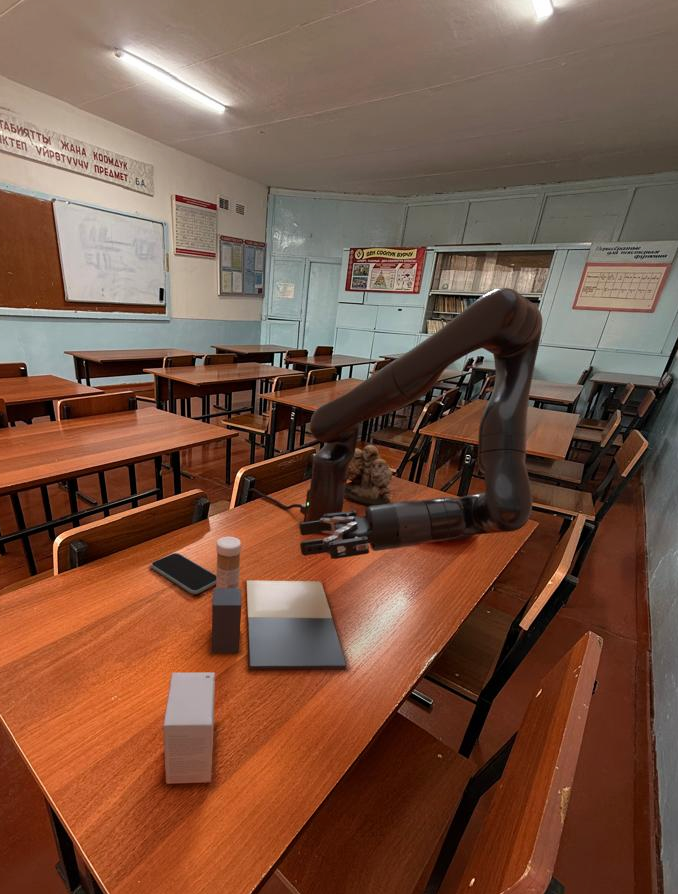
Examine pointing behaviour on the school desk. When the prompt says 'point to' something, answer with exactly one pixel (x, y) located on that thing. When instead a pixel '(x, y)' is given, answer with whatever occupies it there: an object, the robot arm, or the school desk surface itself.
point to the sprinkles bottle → (228, 562)
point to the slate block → (226, 620)
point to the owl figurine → (368, 478)
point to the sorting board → (291, 627)
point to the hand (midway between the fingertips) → (300, 538)
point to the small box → (189, 727)
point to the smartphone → (185, 573)
